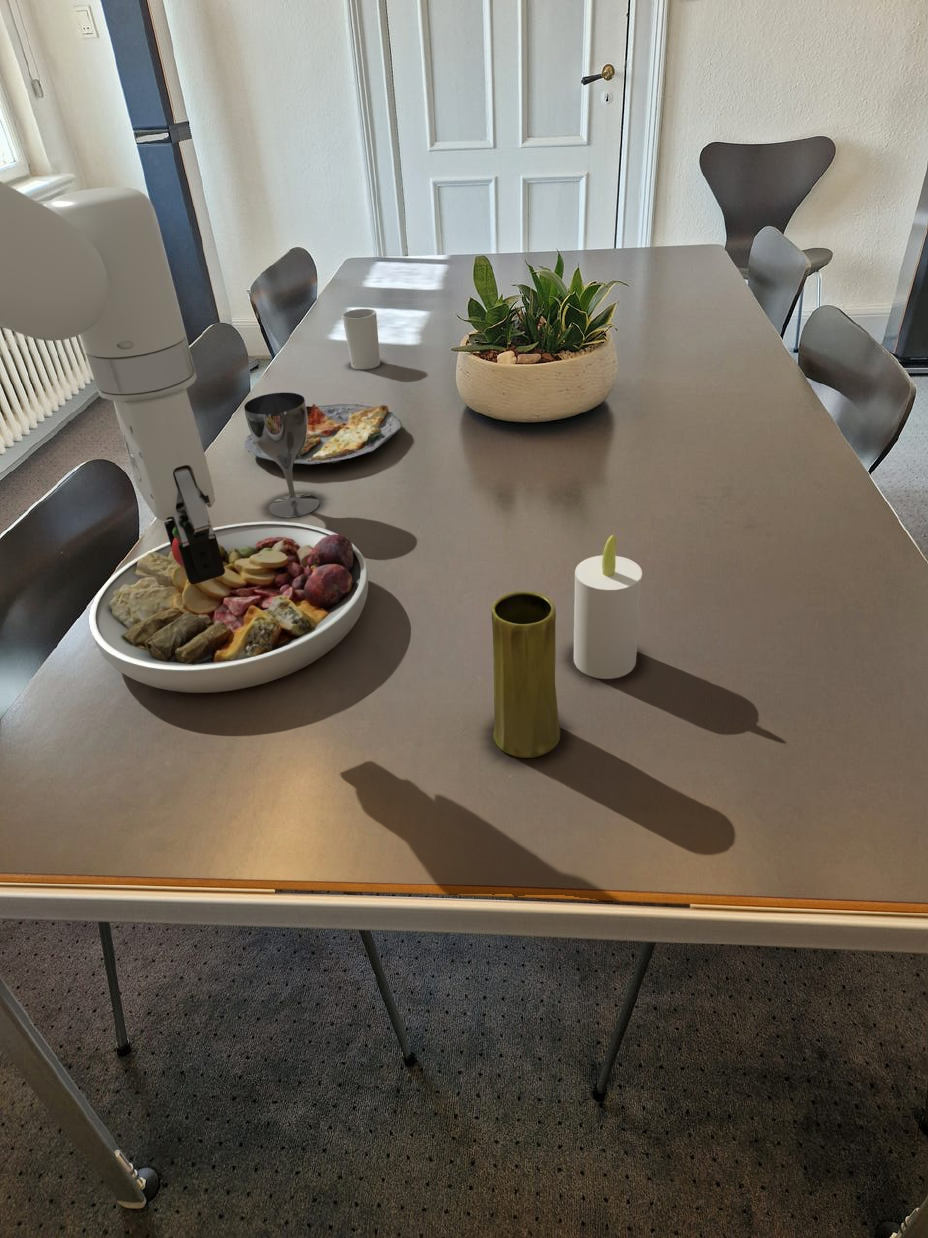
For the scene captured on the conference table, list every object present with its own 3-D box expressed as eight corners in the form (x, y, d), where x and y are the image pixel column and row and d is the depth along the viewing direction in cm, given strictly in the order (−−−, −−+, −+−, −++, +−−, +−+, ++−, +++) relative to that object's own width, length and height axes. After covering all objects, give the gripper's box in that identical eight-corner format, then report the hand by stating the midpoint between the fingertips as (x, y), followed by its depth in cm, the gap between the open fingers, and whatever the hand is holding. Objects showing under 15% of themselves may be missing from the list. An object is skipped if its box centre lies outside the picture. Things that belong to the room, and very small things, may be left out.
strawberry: (185, 587, 74) (172, 543, 72) (174, 568, 77) (161, 525, 75) (229, 573, 76) (218, 530, 74) (217, 555, 79) (206, 513, 77)
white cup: (385, 366, 168) (379, 315, 162) (352, 372, 167) (345, 320, 161) (378, 357, 173) (372, 306, 168) (346, 362, 172) (339, 311, 166)
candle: (616, 634, 90) (622, 507, 82) (647, 669, 85) (658, 538, 76) (562, 649, 89) (563, 522, 80) (591, 685, 83) (595, 553, 75)
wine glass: (334, 499, 121) (317, 397, 112) (296, 523, 115) (276, 418, 107) (292, 488, 125) (273, 389, 116) (254, 511, 119) (231, 408, 111)
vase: (552, 764, 75) (551, 633, 67) (485, 753, 77) (477, 623, 68) (566, 719, 80) (567, 591, 71) (503, 709, 81) (497, 583, 73)
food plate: (303, 410, 151) (300, 390, 149) (422, 420, 143) (421, 400, 141) (222, 468, 132) (217, 447, 130) (354, 484, 124) (351, 462, 122)
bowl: (119, 747, 80) (93, 682, 76) (90, 596, 103) (69, 540, 99) (412, 652, 90) (404, 589, 85) (326, 533, 113) (317, 479, 108)
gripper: (75, 351, 71) (138, 542, 81) (115, 409, 59) (182, 625, 69) (165, 332, 74) (214, 519, 84) (221, 384, 61) (270, 595, 72)
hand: (199, 565), depth 76 cm, fingers closed on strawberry, 3 cm apart
